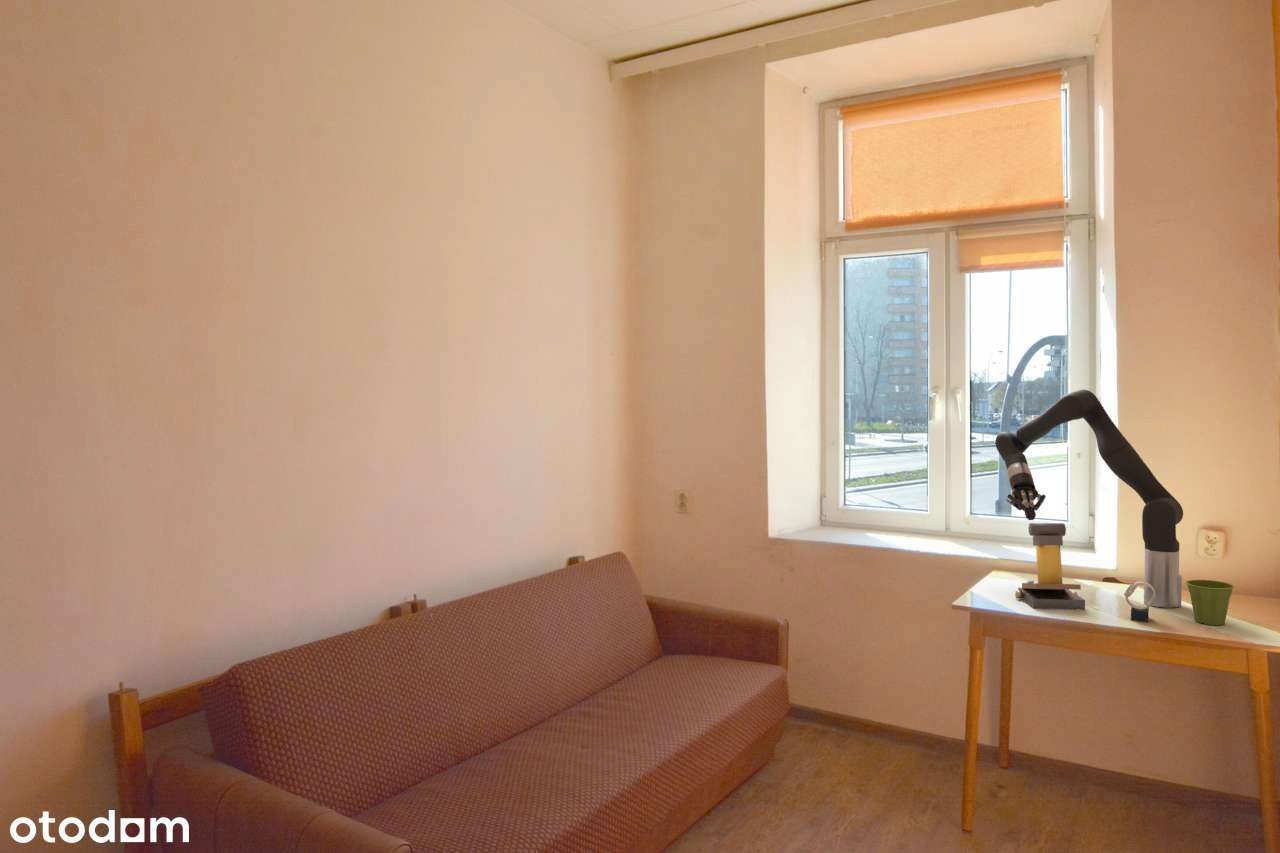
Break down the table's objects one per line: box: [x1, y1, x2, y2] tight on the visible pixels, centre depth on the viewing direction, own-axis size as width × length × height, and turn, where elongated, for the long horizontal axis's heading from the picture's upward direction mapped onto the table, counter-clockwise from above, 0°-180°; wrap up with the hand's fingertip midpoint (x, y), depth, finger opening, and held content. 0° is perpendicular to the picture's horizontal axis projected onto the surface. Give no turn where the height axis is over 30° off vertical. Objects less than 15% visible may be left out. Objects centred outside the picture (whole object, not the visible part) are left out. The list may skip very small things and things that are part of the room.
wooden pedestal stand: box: [1021, 522, 1082, 591], centre depth 271 cm, size 13×14×20 cm
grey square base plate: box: [1014, 587, 1086, 611], centre depth 270 cm, size 18×17×3 cm
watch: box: [1123, 580, 1156, 623], centre depth 250 cm, size 6×8×11 cm
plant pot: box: [1185, 579, 1236, 626], centre depth 245 cm, size 12×12×11 cm
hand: (1031, 518), depth 287 cm, fingers closed
